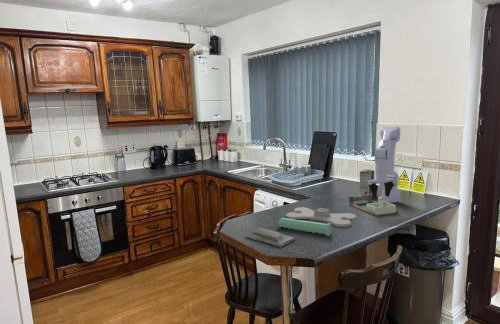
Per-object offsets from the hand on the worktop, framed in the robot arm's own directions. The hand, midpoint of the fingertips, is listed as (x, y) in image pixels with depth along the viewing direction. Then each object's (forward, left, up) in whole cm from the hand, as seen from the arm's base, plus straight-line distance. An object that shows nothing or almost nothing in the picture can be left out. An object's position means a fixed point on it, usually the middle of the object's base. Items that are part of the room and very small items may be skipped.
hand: (380, 196), depth 174 cm
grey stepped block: (+66, +12, -10) cm, 68 cm away
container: (+48, +8, -9) cm, 50 cm away
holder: (+32, -6, -10) cm, 34 cm away
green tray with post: (0, 0, -8) cm, 8 cm away
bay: (0, -8, -9) cm, 12 cm away
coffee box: (-15, -34, -9) cm, 38 cm away
